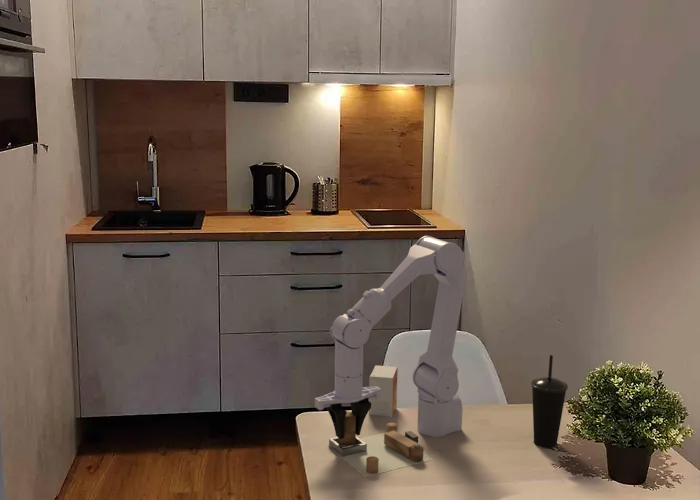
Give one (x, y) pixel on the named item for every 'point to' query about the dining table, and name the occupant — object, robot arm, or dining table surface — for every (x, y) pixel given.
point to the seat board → (381, 455)
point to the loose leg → (349, 430)
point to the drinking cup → (547, 408)
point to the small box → (384, 390)
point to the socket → (357, 448)
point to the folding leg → (404, 445)
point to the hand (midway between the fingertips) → (348, 435)
